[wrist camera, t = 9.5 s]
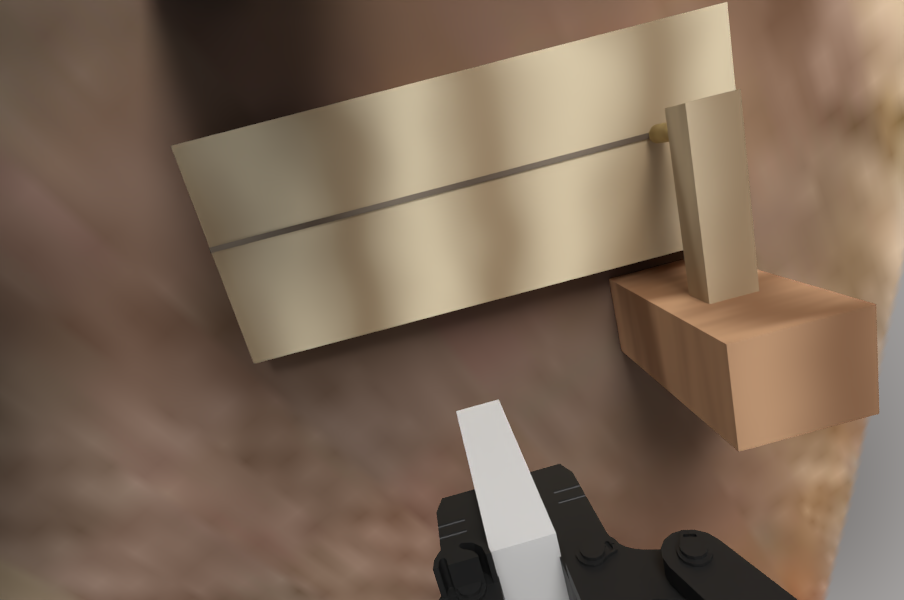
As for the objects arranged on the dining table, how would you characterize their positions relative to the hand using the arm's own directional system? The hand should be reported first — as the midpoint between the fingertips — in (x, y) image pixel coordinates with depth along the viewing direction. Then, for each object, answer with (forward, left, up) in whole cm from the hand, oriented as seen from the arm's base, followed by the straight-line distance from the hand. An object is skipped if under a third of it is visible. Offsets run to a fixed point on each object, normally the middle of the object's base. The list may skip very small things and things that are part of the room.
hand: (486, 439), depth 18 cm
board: (+3, +8, -9) cm, 12 cm away
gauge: (+11, +3, -9) cm, 14 cm away
